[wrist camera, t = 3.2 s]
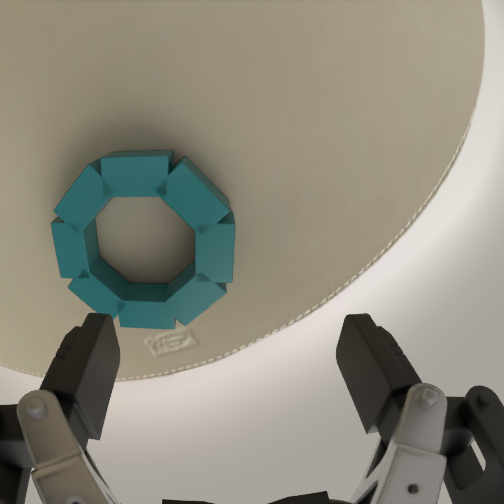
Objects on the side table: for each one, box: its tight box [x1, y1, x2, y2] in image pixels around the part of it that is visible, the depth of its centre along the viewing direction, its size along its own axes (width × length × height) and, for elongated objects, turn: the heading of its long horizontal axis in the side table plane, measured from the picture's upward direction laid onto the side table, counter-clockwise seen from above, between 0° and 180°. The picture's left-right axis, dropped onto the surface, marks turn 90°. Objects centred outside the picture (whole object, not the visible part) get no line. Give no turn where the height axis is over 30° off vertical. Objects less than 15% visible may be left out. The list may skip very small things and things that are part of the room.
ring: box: [51, 150, 235, 329], centre depth 17 cm, size 10×10×2 cm
